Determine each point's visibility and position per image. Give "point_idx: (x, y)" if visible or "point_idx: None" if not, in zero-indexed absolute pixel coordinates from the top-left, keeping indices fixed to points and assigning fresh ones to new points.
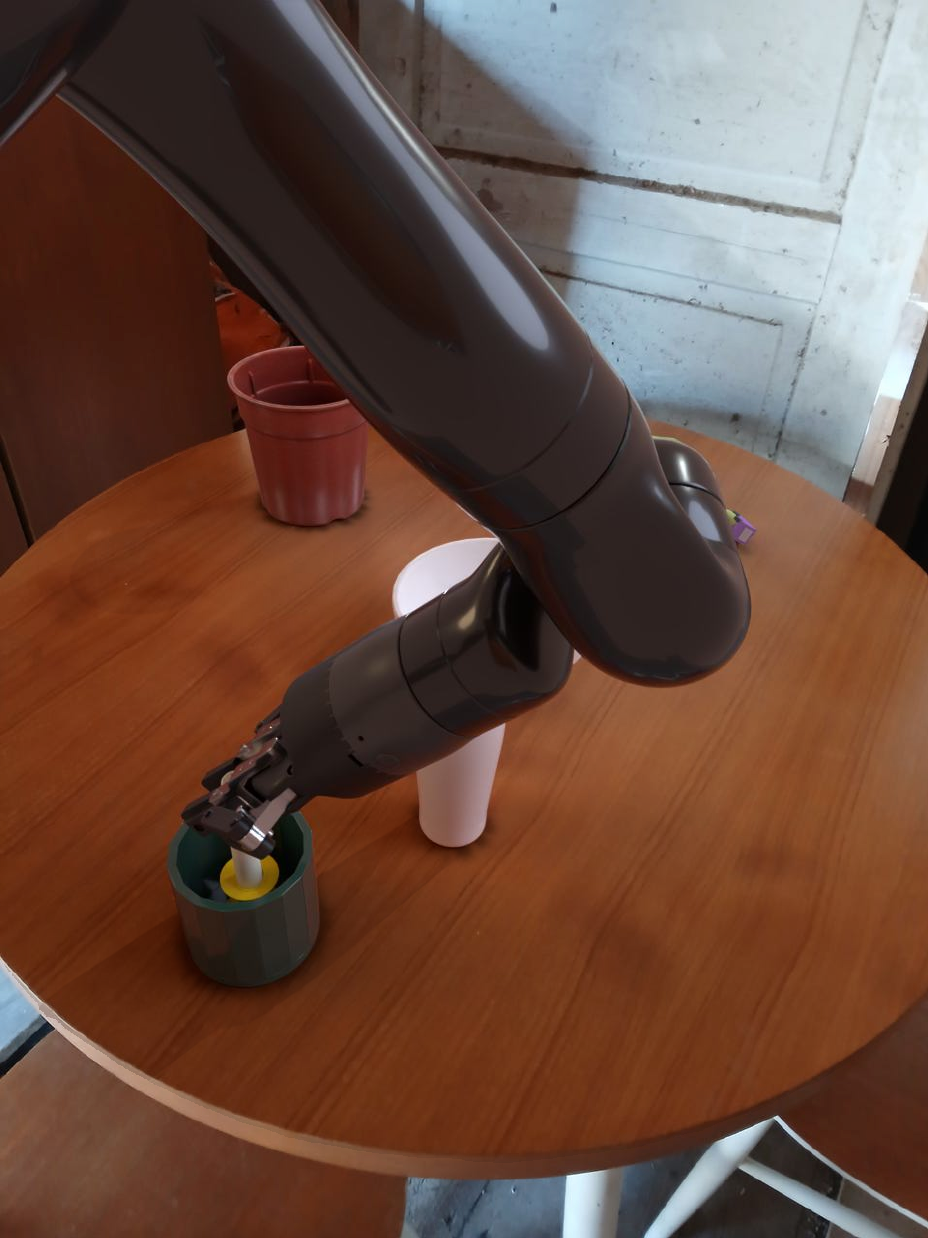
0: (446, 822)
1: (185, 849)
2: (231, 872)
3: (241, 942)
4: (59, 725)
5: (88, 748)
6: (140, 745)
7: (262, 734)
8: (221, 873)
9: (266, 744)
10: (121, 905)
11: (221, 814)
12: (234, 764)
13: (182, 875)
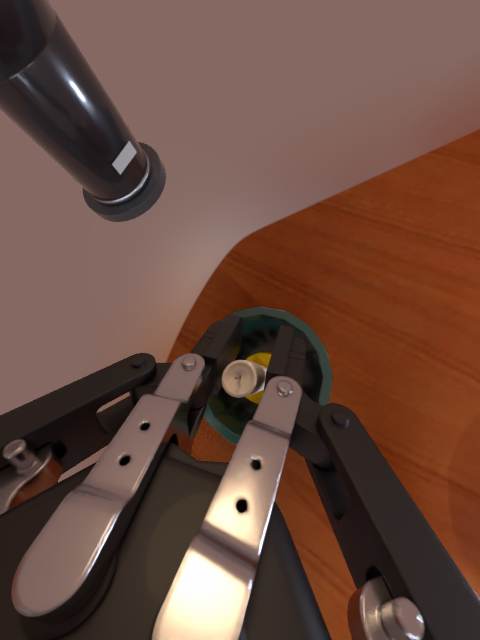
0: None
1: (269, 319)
2: (266, 361)
3: None
4: (442, 181)
5: (420, 210)
6: (433, 246)
7: (237, 464)
8: (262, 353)
9: (89, 537)
10: (279, 283)
11: (79, 397)
12: (267, 375)
13: (253, 323)
